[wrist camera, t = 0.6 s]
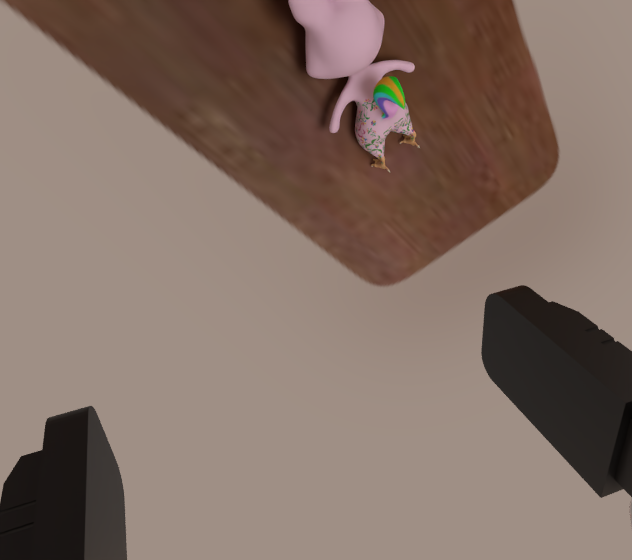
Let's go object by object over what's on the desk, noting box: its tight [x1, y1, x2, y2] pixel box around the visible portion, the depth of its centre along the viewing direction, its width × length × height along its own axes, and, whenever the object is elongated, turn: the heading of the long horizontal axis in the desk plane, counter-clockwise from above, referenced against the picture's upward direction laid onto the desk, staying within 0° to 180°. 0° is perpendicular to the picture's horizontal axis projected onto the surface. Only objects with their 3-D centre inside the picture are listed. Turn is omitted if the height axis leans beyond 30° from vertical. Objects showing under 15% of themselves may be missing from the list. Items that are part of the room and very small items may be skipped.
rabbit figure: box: [288, 0, 420, 172], centre depth 30 cm, size 6×6×15 cm
